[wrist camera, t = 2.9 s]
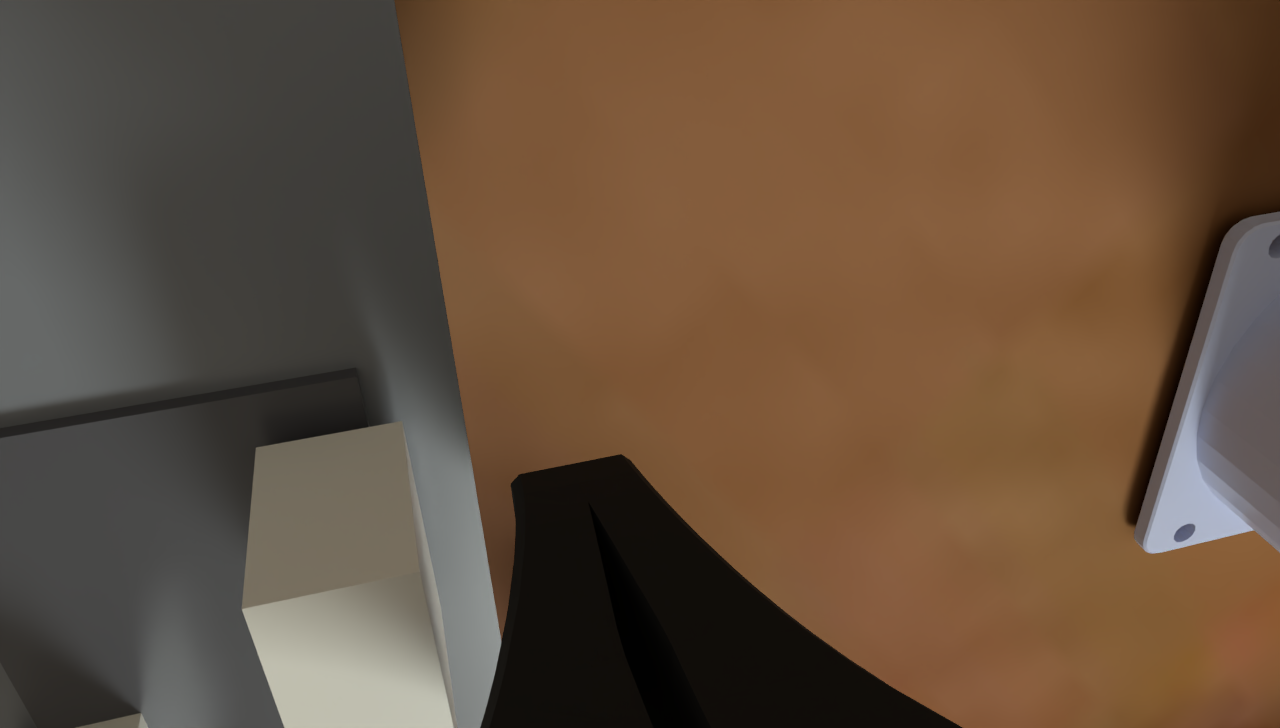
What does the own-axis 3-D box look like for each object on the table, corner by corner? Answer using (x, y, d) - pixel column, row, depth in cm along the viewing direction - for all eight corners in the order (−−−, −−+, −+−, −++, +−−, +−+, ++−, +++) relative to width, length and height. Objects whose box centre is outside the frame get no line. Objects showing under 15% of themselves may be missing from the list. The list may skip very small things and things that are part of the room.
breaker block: (361, -159, 12) (391, -66, 7) (499, 652, 20) (562, 984, 14) (-323, -110, 11) (-927, 53, 5) (112, 742, 18) (29, 1144, 13)
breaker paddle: (401, 421, 12) (419, 572, 10) (441, 607, 13) (463, 770, 11) (255, 448, 11) (241, 608, 9) (314, 635, 13) (312, 808, 11)
